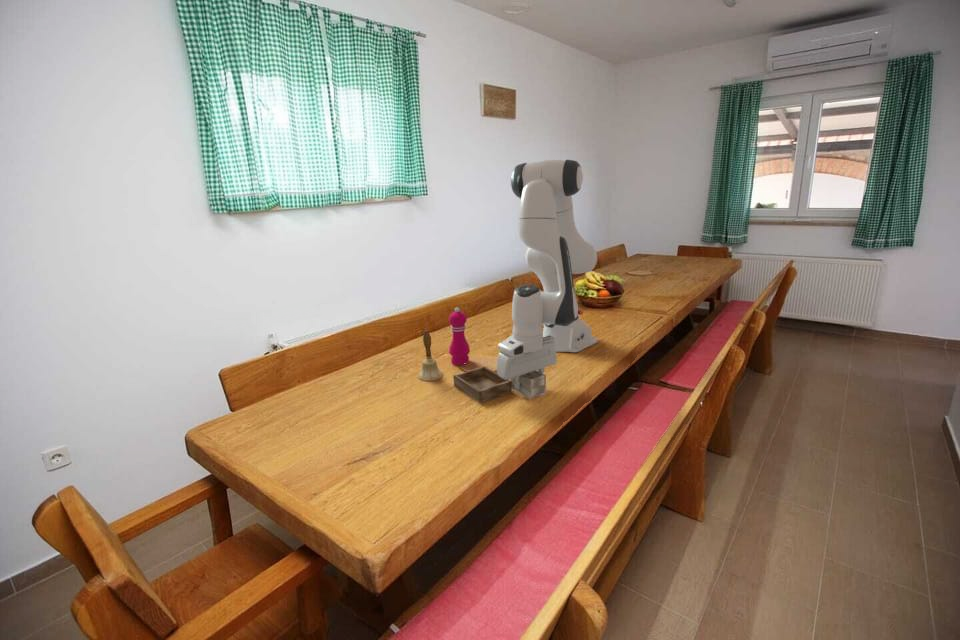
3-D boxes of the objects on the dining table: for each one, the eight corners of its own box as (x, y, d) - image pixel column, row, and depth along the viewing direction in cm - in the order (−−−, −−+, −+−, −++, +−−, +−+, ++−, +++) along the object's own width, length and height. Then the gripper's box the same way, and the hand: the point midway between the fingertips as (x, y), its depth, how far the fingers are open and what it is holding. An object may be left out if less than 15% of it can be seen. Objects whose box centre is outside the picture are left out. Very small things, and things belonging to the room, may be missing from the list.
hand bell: (439, 381, 150) (435, 334, 145) (414, 380, 151) (410, 334, 146) (445, 371, 157) (442, 326, 153) (422, 370, 159) (418, 326, 154)
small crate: (526, 383, 145) (526, 365, 144) (545, 393, 138) (545, 375, 136) (511, 388, 142) (510, 370, 140) (530, 399, 135) (529, 380, 133)
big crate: (484, 376, 152) (484, 366, 151) (511, 391, 140) (511, 381, 139) (454, 385, 146) (453, 375, 145) (479, 403, 134) (479, 391, 133)
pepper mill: (467, 366, 161) (465, 310, 155) (447, 365, 162) (444, 310, 156) (472, 358, 167) (469, 304, 161) (452, 357, 169) (449, 304, 163)
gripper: (547, 331, 143) (547, 372, 148) (493, 346, 133) (494, 390, 137) (561, 336, 138) (561, 379, 142) (506, 352, 128) (507, 398, 132)
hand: (528, 384), depth 140 cm, fingers closed on small crate, 6 cm apart
